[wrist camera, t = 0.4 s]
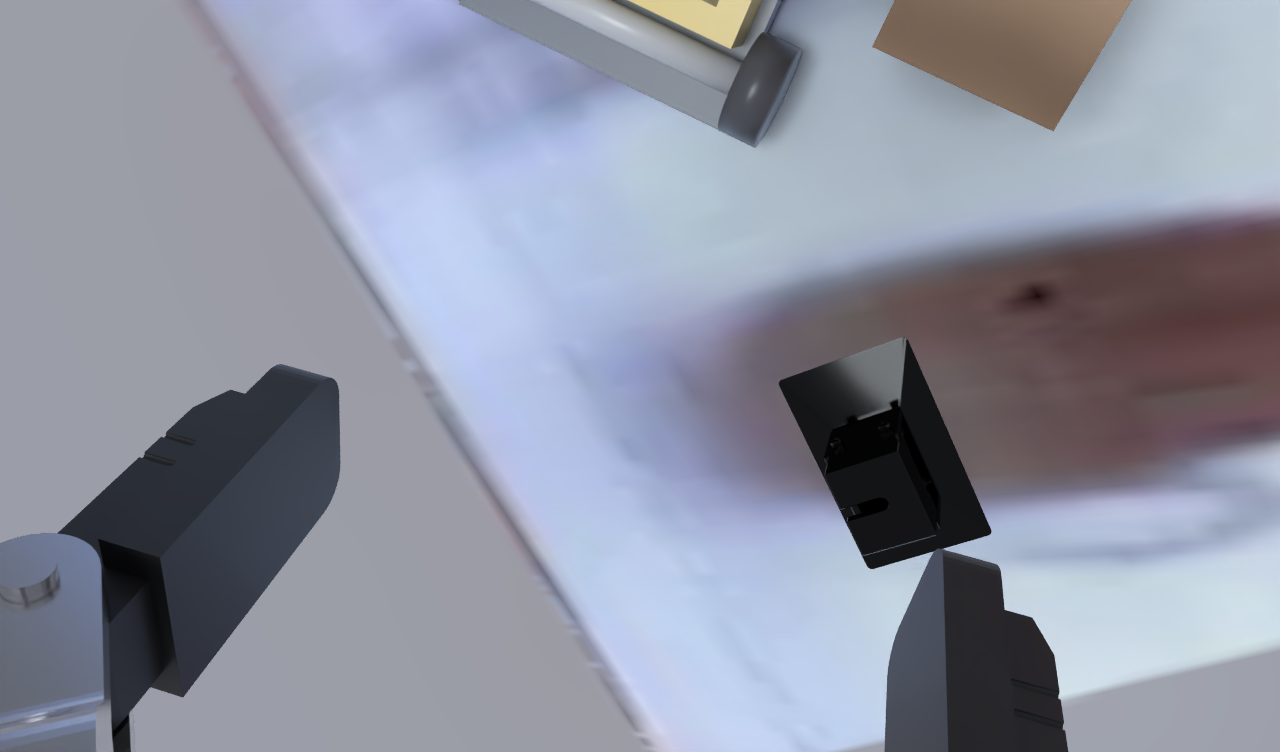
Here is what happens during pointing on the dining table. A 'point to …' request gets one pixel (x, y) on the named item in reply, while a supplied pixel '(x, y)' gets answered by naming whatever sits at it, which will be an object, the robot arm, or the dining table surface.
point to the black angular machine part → (886, 454)
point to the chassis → (670, 51)
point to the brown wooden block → (1005, 47)
